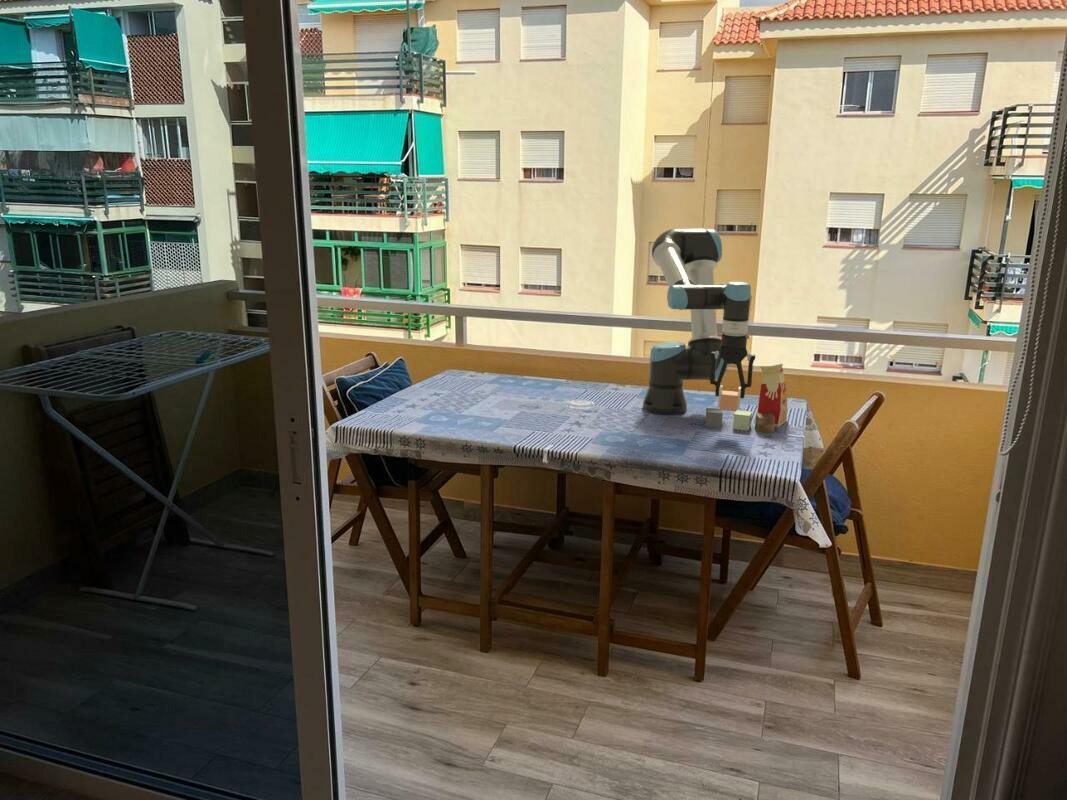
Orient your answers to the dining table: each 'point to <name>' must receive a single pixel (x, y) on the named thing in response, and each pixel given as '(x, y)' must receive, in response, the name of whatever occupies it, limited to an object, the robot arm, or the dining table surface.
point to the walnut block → (765, 423)
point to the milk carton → (773, 393)
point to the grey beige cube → (713, 417)
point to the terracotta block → (729, 400)
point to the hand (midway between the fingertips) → (728, 407)
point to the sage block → (742, 420)
